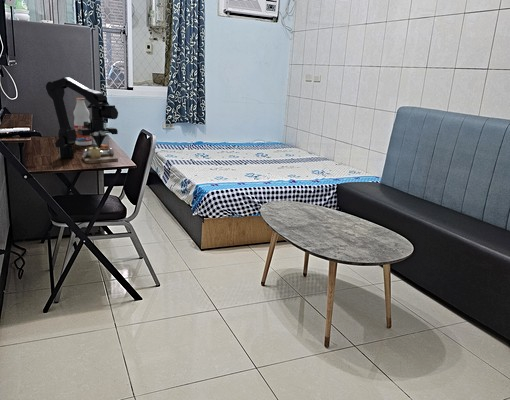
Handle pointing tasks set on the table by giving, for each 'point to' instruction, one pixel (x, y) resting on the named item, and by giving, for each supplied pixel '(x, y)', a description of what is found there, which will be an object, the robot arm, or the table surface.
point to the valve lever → (100, 146)
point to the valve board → (100, 159)
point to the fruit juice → (81, 122)
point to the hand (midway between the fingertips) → (98, 148)
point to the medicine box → (105, 141)
